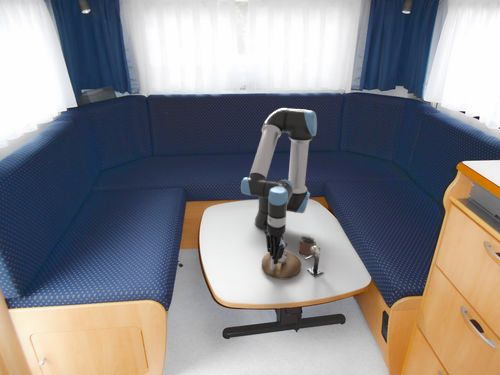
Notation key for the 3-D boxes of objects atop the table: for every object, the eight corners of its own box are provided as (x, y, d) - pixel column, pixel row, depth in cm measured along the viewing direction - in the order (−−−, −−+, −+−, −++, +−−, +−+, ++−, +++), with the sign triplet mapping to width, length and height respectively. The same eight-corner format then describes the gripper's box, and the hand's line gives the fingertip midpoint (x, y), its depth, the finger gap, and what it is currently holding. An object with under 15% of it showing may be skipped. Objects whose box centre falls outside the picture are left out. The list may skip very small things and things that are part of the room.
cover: (269, 264, 158) (269, 255, 156) (273, 255, 164) (273, 247, 162) (284, 267, 156) (285, 258, 154) (287, 258, 162) (288, 249, 160)
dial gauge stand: (301, 273, 157) (304, 246, 150) (315, 267, 161) (318, 241, 154) (308, 279, 153) (311, 252, 147) (323, 273, 157) (326, 246, 151)
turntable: (257, 274, 155) (257, 265, 153) (266, 251, 170) (267, 242, 168) (297, 282, 150) (298, 273, 148) (303, 257, 166) (304, 249, 164)
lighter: (315, 253, 170) (317, 236, 165) (314, 257, 167) (316, 240, 163) (299, 250, 172) (300, 233, 168) (297, 254, 169) (299, 237, 165)
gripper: (260, 218, 146) (258, 262, 157) (278, 233, 137) (275, 279, 147) (274, 213, 150) (271, 257, 161) (293, 228, 140) (289, 273, 151)
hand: (273, 268), depth 154 cm, fingers closed
